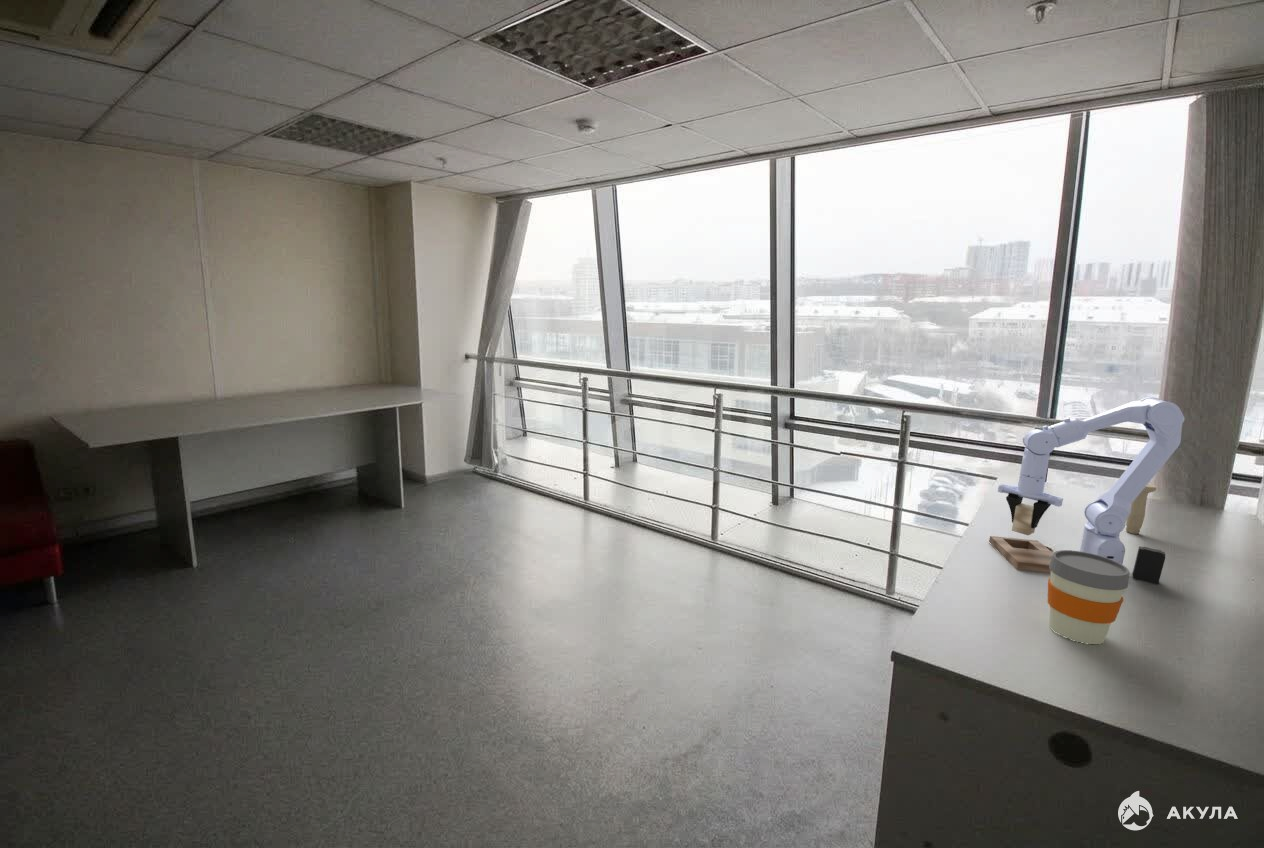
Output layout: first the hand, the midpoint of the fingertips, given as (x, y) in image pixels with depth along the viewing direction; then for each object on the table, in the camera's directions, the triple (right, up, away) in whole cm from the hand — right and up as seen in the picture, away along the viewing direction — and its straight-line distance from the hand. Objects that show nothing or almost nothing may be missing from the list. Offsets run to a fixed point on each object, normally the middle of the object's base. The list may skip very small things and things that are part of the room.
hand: (1024, 524), depth 162 cm
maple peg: (0, -2, 0) cm, 2 cm away
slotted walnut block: (-1, -8, -3) cm, 9 cm away
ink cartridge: (+21, -11, -14) cm, 27 cm away
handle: (+45, -6, +20) cm, 50 cm away
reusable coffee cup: (-16, -15, -40) cm, 46 cm away
